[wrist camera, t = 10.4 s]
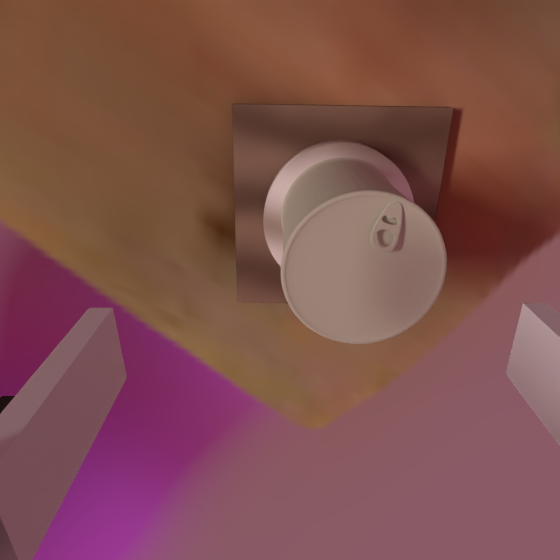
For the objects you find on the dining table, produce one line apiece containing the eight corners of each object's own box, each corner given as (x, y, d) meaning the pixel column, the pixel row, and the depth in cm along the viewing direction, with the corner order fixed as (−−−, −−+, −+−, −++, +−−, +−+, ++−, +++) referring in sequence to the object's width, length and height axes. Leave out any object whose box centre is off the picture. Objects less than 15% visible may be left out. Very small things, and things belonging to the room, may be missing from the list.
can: (418, 181, 33) (484, 226, 22) (369, 284, 37) (405, 368, 26) (304, 139, 32) (315, 165, 21) (265, 251, 36) (257, 322, 25)
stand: (233, 103, 35) (228, 105, 31) (449, 107, 34) (465, 109, 31) (238, 297, 41) (234, 314, 38) (418, 300, 41) (429, 318, 38)
